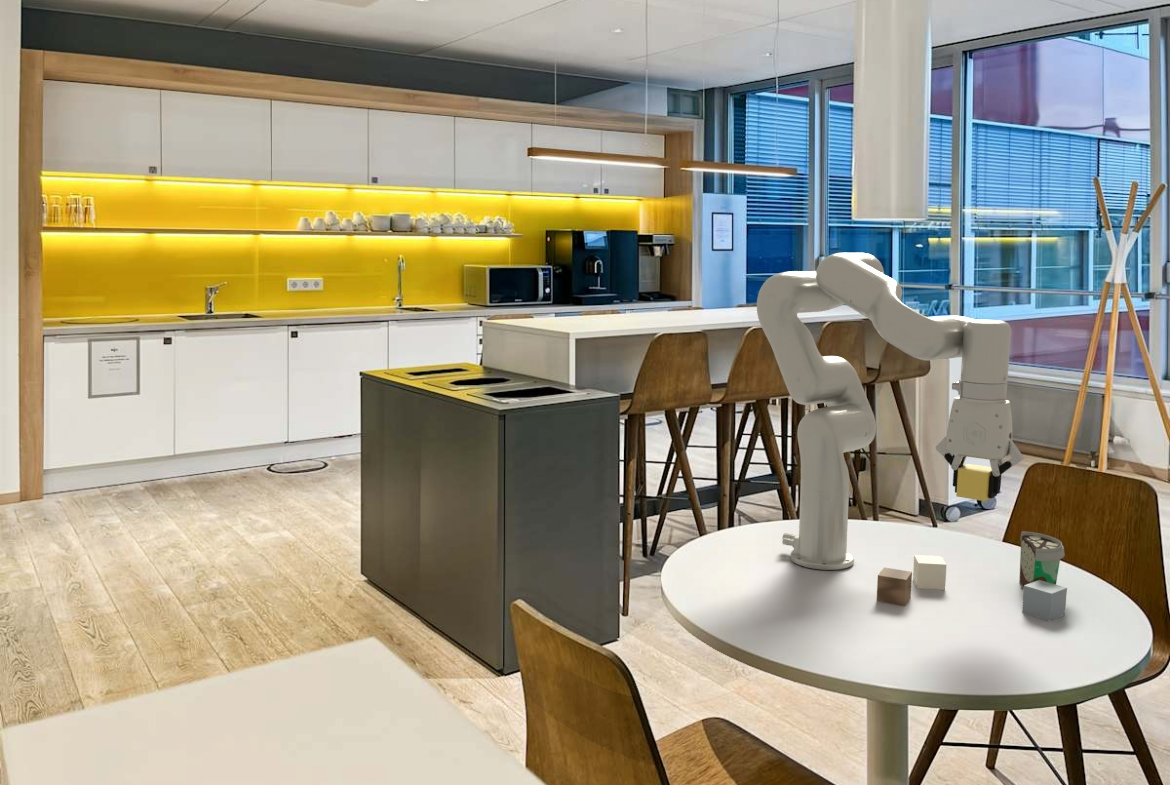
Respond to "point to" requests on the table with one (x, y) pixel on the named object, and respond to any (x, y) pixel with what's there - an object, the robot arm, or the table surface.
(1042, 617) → the slate cube
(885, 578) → the walnut cube
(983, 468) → the mustard cube
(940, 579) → the cream cube
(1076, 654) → the table surface
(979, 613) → the table surface
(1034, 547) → the food container
